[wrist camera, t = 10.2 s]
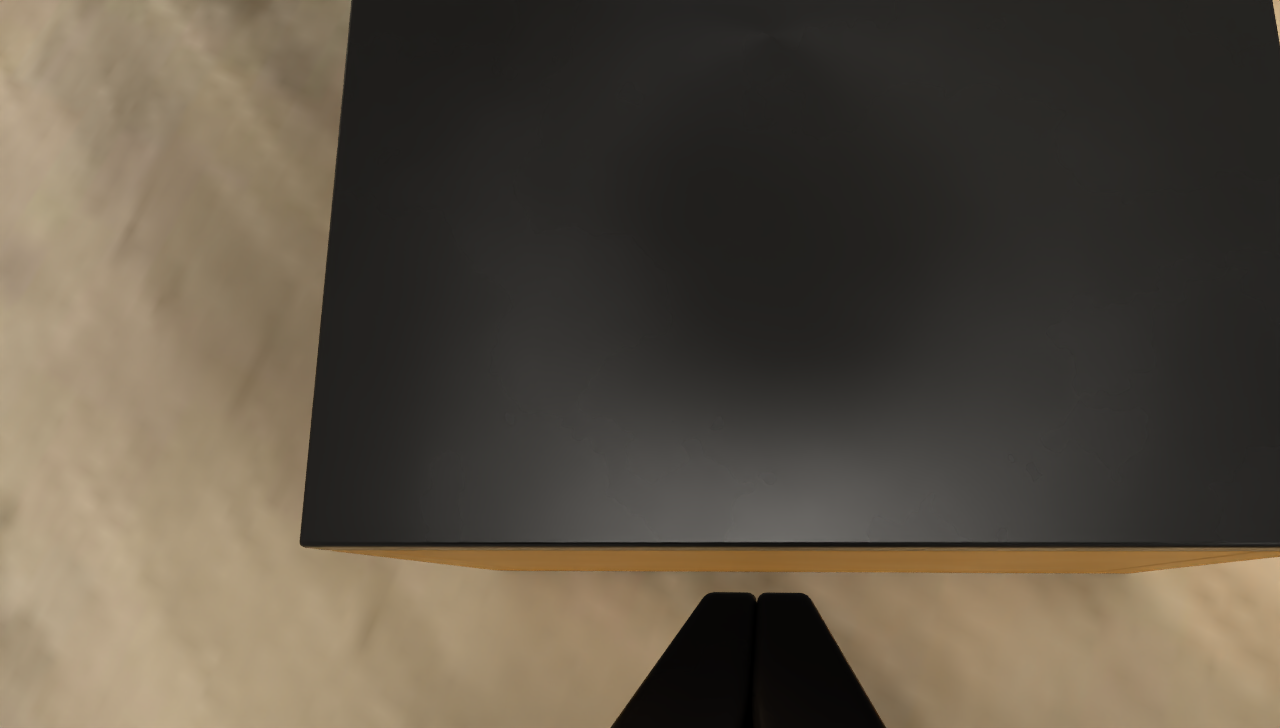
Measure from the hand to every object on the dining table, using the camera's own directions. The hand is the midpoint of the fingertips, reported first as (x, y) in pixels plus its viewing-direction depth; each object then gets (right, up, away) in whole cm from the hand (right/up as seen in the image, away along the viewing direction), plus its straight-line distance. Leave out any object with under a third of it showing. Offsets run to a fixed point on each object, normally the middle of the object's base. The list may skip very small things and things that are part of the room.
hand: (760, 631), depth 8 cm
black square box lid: (+1, +7, +6) cm, 9 cm away
